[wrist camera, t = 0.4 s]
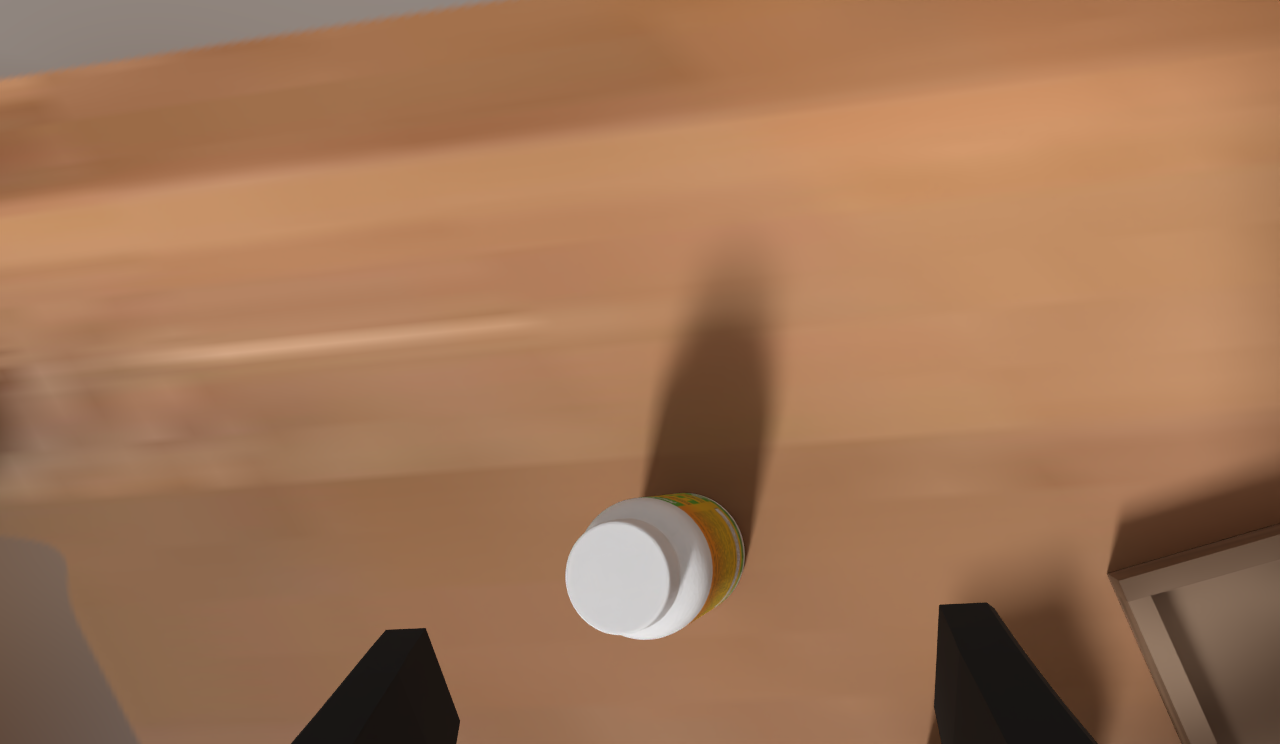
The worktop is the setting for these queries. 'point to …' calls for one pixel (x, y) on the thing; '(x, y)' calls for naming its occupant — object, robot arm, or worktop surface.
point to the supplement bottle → (654, 564)
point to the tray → (1212, 636)
